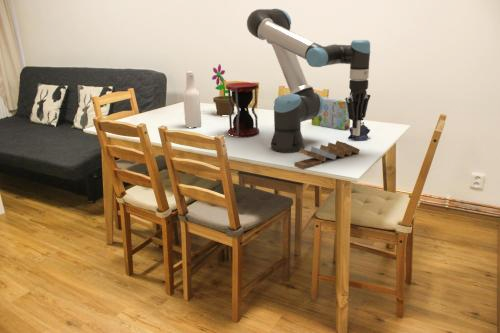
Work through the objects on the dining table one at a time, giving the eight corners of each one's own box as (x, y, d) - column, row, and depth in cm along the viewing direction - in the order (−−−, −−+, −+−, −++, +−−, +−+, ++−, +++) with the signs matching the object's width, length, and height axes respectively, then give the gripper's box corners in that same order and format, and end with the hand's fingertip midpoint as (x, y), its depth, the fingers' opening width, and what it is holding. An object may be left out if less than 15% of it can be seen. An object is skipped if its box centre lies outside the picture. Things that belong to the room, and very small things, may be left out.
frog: (374, 138, 211) (375, 122, 208) (357, 142, 204) (358, 126, 202) (359, 134, 219) (359, 119, 216) (341, 138, 212) (342, 122, 210)
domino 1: (324, 161, 178) (306, 155, 173) (317, 158, 182) (298, 152, 177) (326, 156, 178) (308, 150, 173) (318, 154, 182) (300, 148, 177)
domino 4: (343, 158, 183) (328, 151, 177) (334, 155, 187) (319, 149, 181) (345, 153, 183) (329, 147, 177) (336, 150, 187) (321, 144, 181)
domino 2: (321, 165, 177) (302, 170, 172) (313, 162, 181) (294, 167, 176) (321, 160, 177) (302, 165, 171) (313, 157, 180) (294, 162, 175)
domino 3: (328, 152, 185) (311, 146, 179) (336, 155, 181) (320, 149, 175) (326, 157, 185) (310, 151, 179) (335, 160, 181) (318, 154, 175)
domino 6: (358, 153, 188) (343, 147, 182) (349, 151, 192) (335, 145, 186) (359, 149, 188) (345, 143, 182) (351, 146, 192) (336, 140, 186)
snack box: (350, 128, 230) (351, 99, 225) (344, 130, 226) (345, 101, 221) (316, 122, 244) (317, 95, 239) (310, 124, 240) (311, 97, 235)
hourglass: (222, 136, 223) (220, 86, 214) (235, 128, 237) (233, 81, 229) (252, 138, 217) (251, 87, 209) (263, 130, 231) (262, 82, 223)
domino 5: (350, 155, 186) (335, 149, 179) (341, 153, 189) (327, 146, 183) (352, 151, 185) (337, 144, 179) (343, 148, 189) (328, 142, 183)
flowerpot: (223, 111, 282) (221, 63, 272) (241, 113, 274) (240, 63, 264) (209, 115, 271) (206, 65, 261) (227, 117, 263) (224, 66, 253)
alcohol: (188, 124, 249) (184, 70, 239) (203, 124, 247) (200, 70, 237) (183, 128, 241) (178, 72, 231) (198, 128, 239) (194, 72, 229)
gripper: (355, 81, 174) (352, 139, 182) (376, 78, 181) (373, 134, 189) (341, 80, 180) (338, 136, 188) (362, 76, 187) (359, 131, 195)
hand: (356, 135), depth 188 cm, fingers closed
